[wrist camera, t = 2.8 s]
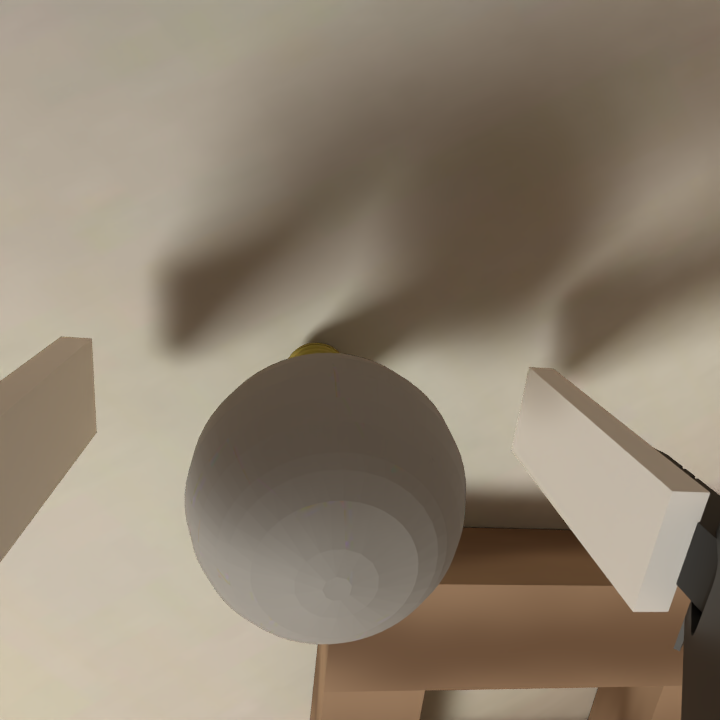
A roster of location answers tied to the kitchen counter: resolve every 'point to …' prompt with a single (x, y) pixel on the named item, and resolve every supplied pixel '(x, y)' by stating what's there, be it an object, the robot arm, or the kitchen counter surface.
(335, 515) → the light bulb
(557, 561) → the holder
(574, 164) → the kitchen counter surface
